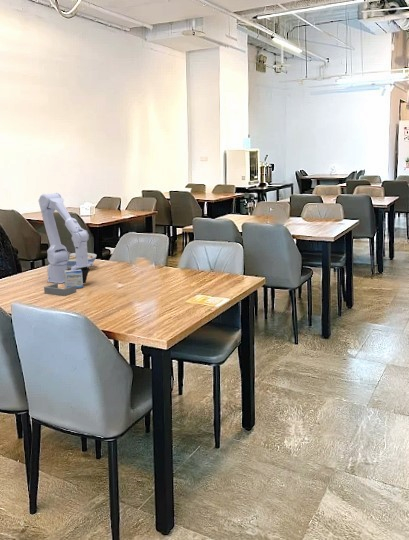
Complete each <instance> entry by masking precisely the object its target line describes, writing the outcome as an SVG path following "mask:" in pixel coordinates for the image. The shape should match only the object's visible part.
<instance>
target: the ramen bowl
mask: <svg viewBox="0 0 409 540" xmlns="http://www.w3.org/2000/svg"><path fill="white" fill-rule="evenodd" d="M67 251H68V253H69V256H70V257H69V260H68V261H67V262H68V263H66V264H67V270H71V267H73V266H74V265H76V254H75V252H72V251H69V250H67ZM87 253H88V262H93V263H94V262H95V260H96V258H97V254H96V253H91V252H87Z"/></svg>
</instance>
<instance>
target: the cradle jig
mask: <svg viewBox="0 0 409 540" xmlns="http://www.w3.org/2000/svg"><path fill="white" fill-rule="evenodd" d="M58 284H59V283H52V284H50V285H47V286H44V287H43V289H44V294H46V295H52V296H54V295H55V296H61V297H66V296H70V295H72V294H75V293H77V289H76V286H75V285H74V286H71V287H68V288H65V287H64V288H61V287H59V285H58Z"/></svg>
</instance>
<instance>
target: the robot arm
mask: <svg viewBox="0 0 409 540" xmlns="http://www.w3.org/2000/svg"><path fill="white" fill-rule="evenodd" d="M38 204H39V207H40V214H41V217H42V221H43V224H44V228H45V231H46V235H47V238H48V243H49V247H48V249H47V250H46V252H47V261H48V263H49V264H48V266H47V269H46V270H47V271H46V272H47V280H46V282H48V283H53V284H56V283H57V284H63V283H64V284H65V279H64V271H66V270H68V269H67V264H66V263H68V262H67V261H68V260H69V257H70V256H69V252H68V251H69V250H67V246H65V245H64V244H62V242H61V237H60V234H59V231H58V227H57V223H56V219H55V215H54V213H55V211H56V212H57V213H58V214H59V215H60V216H61V218H62V219H63V220H64V226H65V227H66V229H67V230H68V232H69V233H70V235H71V237H70V238H71V241H72V243H73V246H74V251H75V252H74V253H75V254H76V265H74V266H73V267H71V270H73V271H75V270H77V269H81V270H82V278H83V284H86V283H87V278H88V274H89V272H90V270H91V269H90V267H93V266H94V262H88V253H89V252H88V241H89V239H90V234H89V233H88V230H86V229H84V228H82V227H81V225H80V223H78V220H77V219H76V218H74V217H72V216H71V214H70V213H69V211H68V209H67V208H66V206H65V204H64V198H63V197H62V195H61V193H58V192H55V193H47V194H46V193H43V194H41V195H40V196H39V199H38Z"/></svg>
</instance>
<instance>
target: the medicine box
mask: <svg viewBox="0 0 409 540" xmlns="http://www.w3.org/2000/svg"><path fill="white" fill-rule="evenodd" d="M64 279H65V282H64V289H65V288H68V287H71V286H74V285H75V286H76V290H77V289H82V288H84V283H83V278H82V270H81V269H77V270H75V271H73V270H70V269H67V270H66V271H64Z"/></svg>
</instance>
